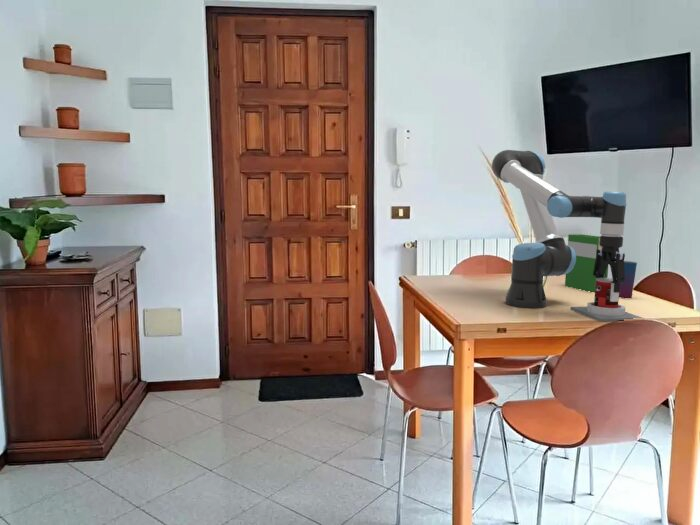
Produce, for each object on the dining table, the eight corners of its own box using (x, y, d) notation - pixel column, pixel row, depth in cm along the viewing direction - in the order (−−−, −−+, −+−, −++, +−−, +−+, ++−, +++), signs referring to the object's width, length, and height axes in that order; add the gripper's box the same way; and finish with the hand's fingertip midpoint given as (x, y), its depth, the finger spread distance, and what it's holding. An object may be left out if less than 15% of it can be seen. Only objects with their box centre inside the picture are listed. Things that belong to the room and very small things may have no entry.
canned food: (597, 306, 220) (599, 276, 219) (620, 309, 215) (622, 279, 214) (590, 309, 215) (593, 279, 213) (614, 313, 210) (616, 281, 208)
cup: (635, 299, 248) (638, 263, 246) (618, 298, 249) (621, 262, 247) (631, 296, 255) (634, 261, 253) (614, 295, 256) (617, 260, 254)
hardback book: (606, 292, 265) (610, 237, 262) (593, 292, 262) (597, 237, 259) (577, 285, 281) (581, 234, 278) (564, 286, 278) (568, 234, 275)
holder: (600, 321, 204) (601, 311, 204) (570, 309, 224) (571, 300, 223) (643, 320, 207) (644, 310, 206) (610, 309, 226) (610, 299, 226)
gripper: (640, 238, 202) (634, 304, 205) (604, 233, 223) (599, 293, 226) (619, 238, 201) (614, 304, 203) (585, 233, 222) (581, 293, 224)
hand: (606, 298), depth 215 cm, fingers open, 9 cm apart
